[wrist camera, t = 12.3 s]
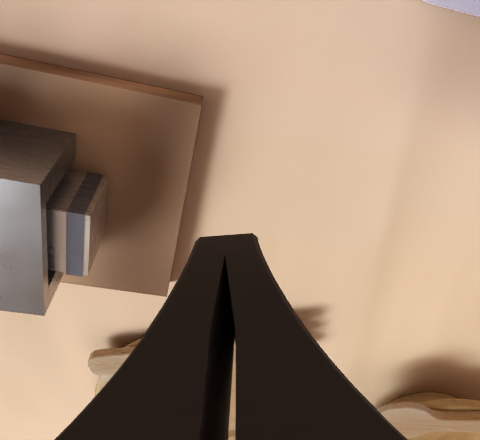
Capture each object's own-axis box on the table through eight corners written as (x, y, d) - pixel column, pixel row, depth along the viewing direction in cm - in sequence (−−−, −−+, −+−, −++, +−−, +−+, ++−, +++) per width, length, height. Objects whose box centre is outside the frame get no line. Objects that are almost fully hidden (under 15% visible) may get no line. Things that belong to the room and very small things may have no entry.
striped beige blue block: (108, 175, 17) (90, 215, 15) (104, 233, 19) (87, 277, 16) (-82, 142, 16) (-135, 179, 14) (-69, 206, 18) (-115, 249, 15)
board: (202, 96, 17) (201, 105, 16) (168, 283, 22) (166, 296, 21) (-229, 5, 15) (-257, 10, 14) (-150, 238, 20) (-166, 251, 19)
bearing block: (76, 133, 16) (39, 185, 13) (74, 250, 20) (44, 315, 16) (-8, 117, 16) (-67, 167, 13) (4, 239, 19) (-41, 305, 16)
